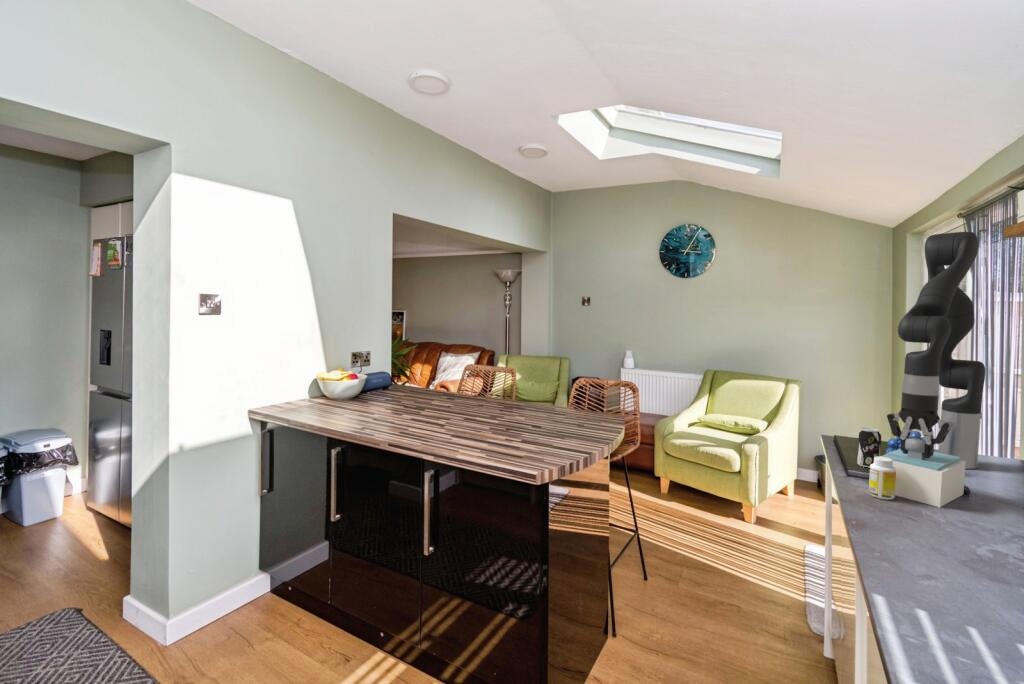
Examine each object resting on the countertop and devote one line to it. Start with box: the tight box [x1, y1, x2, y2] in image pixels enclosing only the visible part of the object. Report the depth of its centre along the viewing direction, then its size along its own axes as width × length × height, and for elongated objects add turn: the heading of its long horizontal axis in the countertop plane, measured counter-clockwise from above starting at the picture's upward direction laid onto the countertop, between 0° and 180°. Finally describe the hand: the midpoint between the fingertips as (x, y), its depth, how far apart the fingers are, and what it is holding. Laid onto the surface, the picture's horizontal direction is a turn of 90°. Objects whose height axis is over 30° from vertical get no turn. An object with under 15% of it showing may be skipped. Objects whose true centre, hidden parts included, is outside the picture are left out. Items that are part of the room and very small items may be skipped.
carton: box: [880, 453, 966, 508], centre depth 133 cm, size 16×14×10 cm
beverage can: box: [856, 427, 882, 469], centre depth 154 cm, size 6×6×12 cm
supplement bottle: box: [868, 455, 896, 501], centre depth 130 cm, size 6×6×10 cm
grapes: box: [885, 430, 925, 455], centre depth 153 cm, size 12×7×12 cm, turn 44°
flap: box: [888, 437, 961, 467], centre depth 133 cm, size 12×12×6 cm
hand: (916, 455), depth 131 cm, fingers closed on flap, 4 cm apart
